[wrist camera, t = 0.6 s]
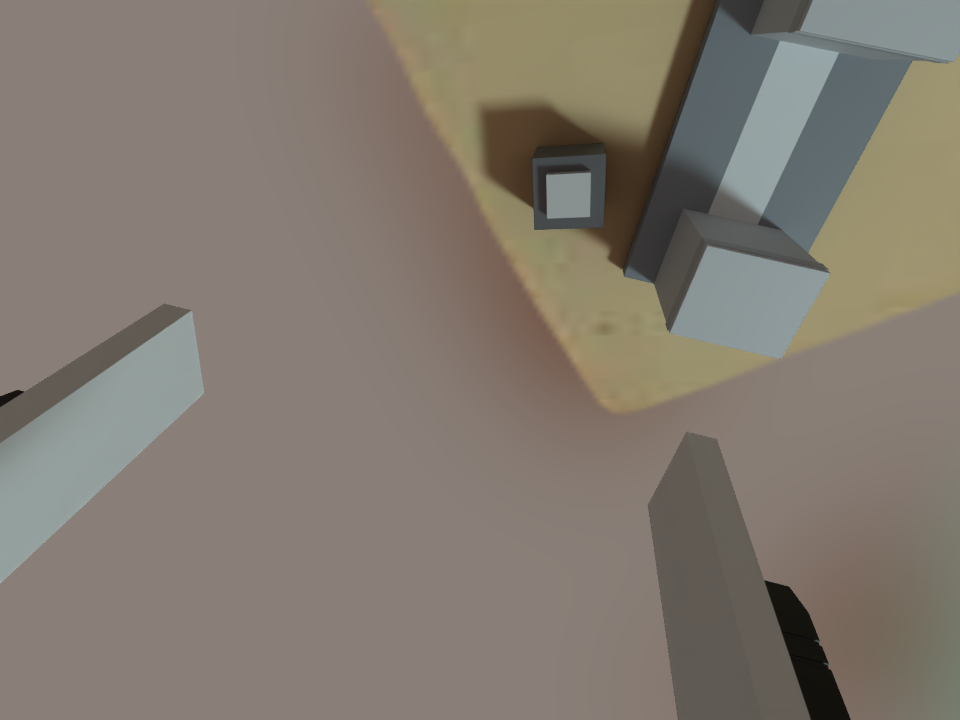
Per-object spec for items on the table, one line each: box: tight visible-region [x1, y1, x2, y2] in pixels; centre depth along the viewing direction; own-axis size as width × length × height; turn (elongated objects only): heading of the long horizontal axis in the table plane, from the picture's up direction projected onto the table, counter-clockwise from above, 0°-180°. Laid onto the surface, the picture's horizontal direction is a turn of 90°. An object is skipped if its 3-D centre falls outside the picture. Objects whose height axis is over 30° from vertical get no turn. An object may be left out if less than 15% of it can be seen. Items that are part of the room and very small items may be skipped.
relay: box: [532, 143, 606, 230], centre depth 31 cm, size 4×4×5 cm
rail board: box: [623, 0, 960, 359], centre depth 26 cm, size 20×10×8 cm, turn 170°
